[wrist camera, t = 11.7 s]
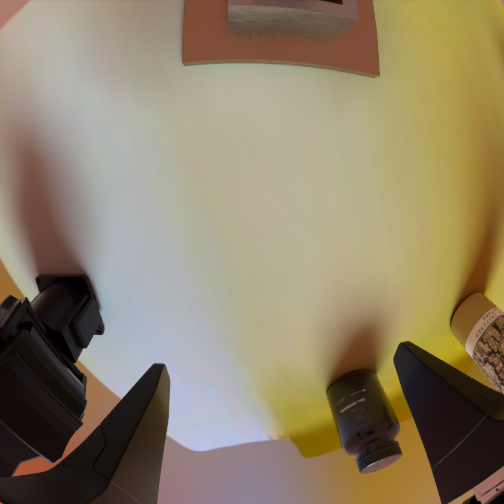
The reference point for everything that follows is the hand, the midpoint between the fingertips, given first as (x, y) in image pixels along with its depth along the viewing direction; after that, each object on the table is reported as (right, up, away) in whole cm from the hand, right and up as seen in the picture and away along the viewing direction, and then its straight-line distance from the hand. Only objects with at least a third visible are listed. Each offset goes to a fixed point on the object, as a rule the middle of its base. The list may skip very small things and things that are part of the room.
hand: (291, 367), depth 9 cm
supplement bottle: (+11, -13, +21) cm, 27 cm away
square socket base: (+1, +24, +4) cm, 24 cm away
